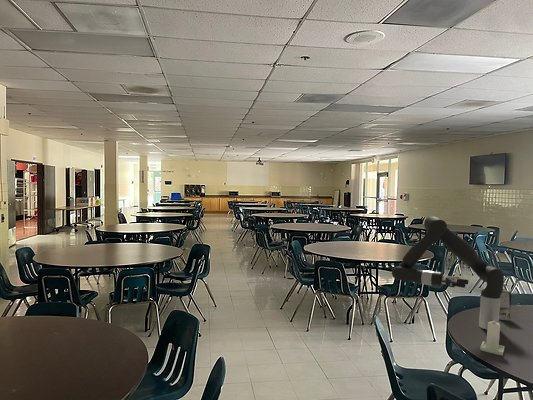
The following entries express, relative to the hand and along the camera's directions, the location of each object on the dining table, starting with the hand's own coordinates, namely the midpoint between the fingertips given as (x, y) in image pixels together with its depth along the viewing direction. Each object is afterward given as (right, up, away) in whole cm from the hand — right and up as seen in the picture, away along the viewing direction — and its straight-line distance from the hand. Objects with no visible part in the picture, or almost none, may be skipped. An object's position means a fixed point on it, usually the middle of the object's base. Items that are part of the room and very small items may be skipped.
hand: (466, 283), depth 197 cm
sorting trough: (+7, -29, -10) cm, 31 cm away
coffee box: (+39, -28, +38) cm, 61 cm away
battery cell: (+7, -28, -10) cm, 31 cm away
